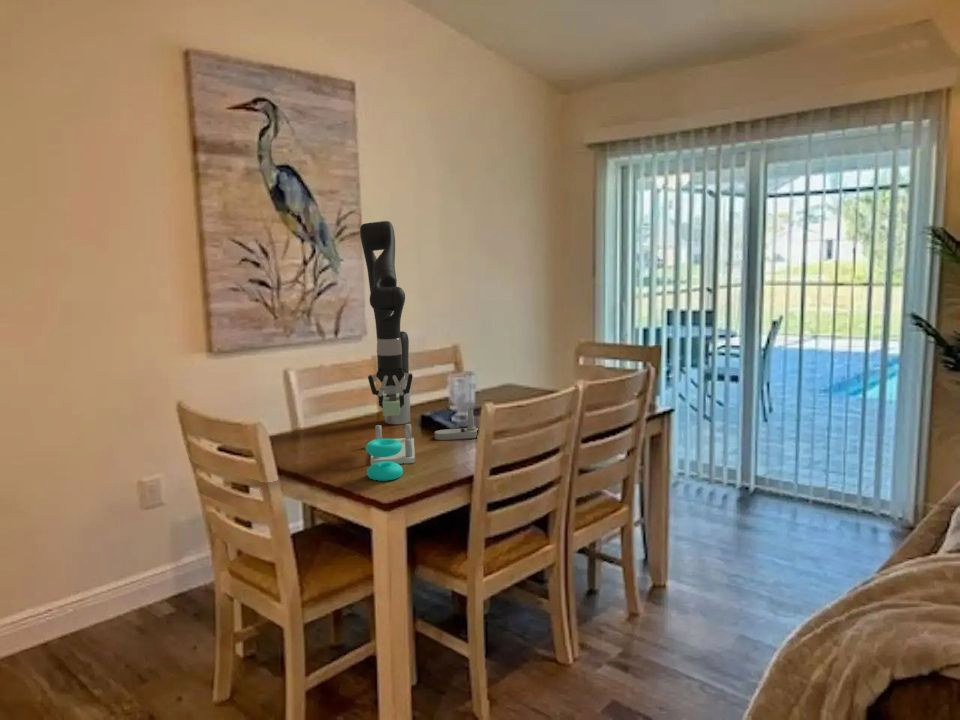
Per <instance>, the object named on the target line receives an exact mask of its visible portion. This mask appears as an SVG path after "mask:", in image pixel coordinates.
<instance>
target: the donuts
mask: <svg viewBox="0 0 960 720" xmlns="http://www.w3.org/2000/svg"><path fill="white" fill-rule="evenodd" d="M395 439H396V438H382V439H377V440H375V439H373V440H370V441H369V442H368V443H366V446H365V451H366V453H367V454H369V456H371V455H372V456H375V457H390V456H393V455H396V454H398V453H399V452H400V451H401V449H402V444H401V442H400V441H398V440H395ZM403 469H404V468H403V467H402V465H400V464H397V463H395V462H378V463H375V464H373V465H371V464H370V466H368V468H367V470H366V474H367V477H368V479H370V480H372V479H373V481H376V480H378V482H388V480H389V481H393V480H397V479H398V478H400V477H401V476H402V475H403V473H404V470H403Z"/></svg>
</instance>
